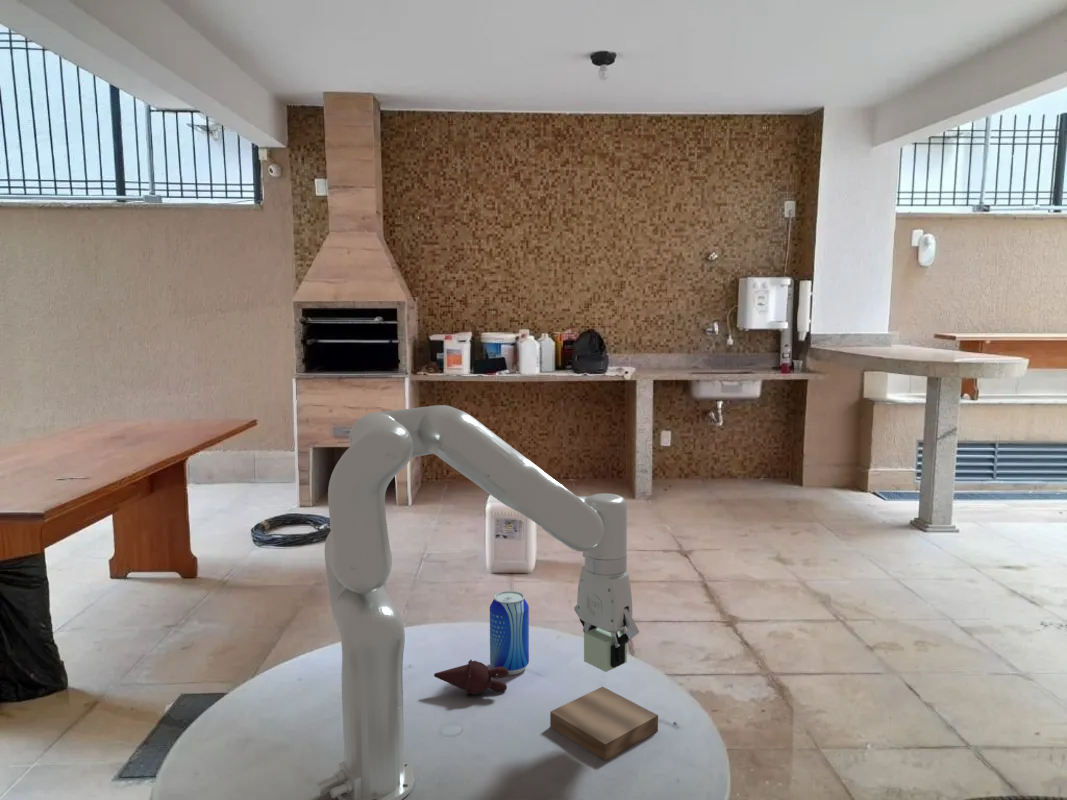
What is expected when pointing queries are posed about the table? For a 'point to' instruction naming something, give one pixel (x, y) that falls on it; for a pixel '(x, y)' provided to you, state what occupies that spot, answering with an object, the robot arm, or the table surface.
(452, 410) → the robot arm
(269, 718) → the table surface
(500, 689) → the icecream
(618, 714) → the walnut base
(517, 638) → the beer can
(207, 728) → the table surface
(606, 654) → the sage cube
